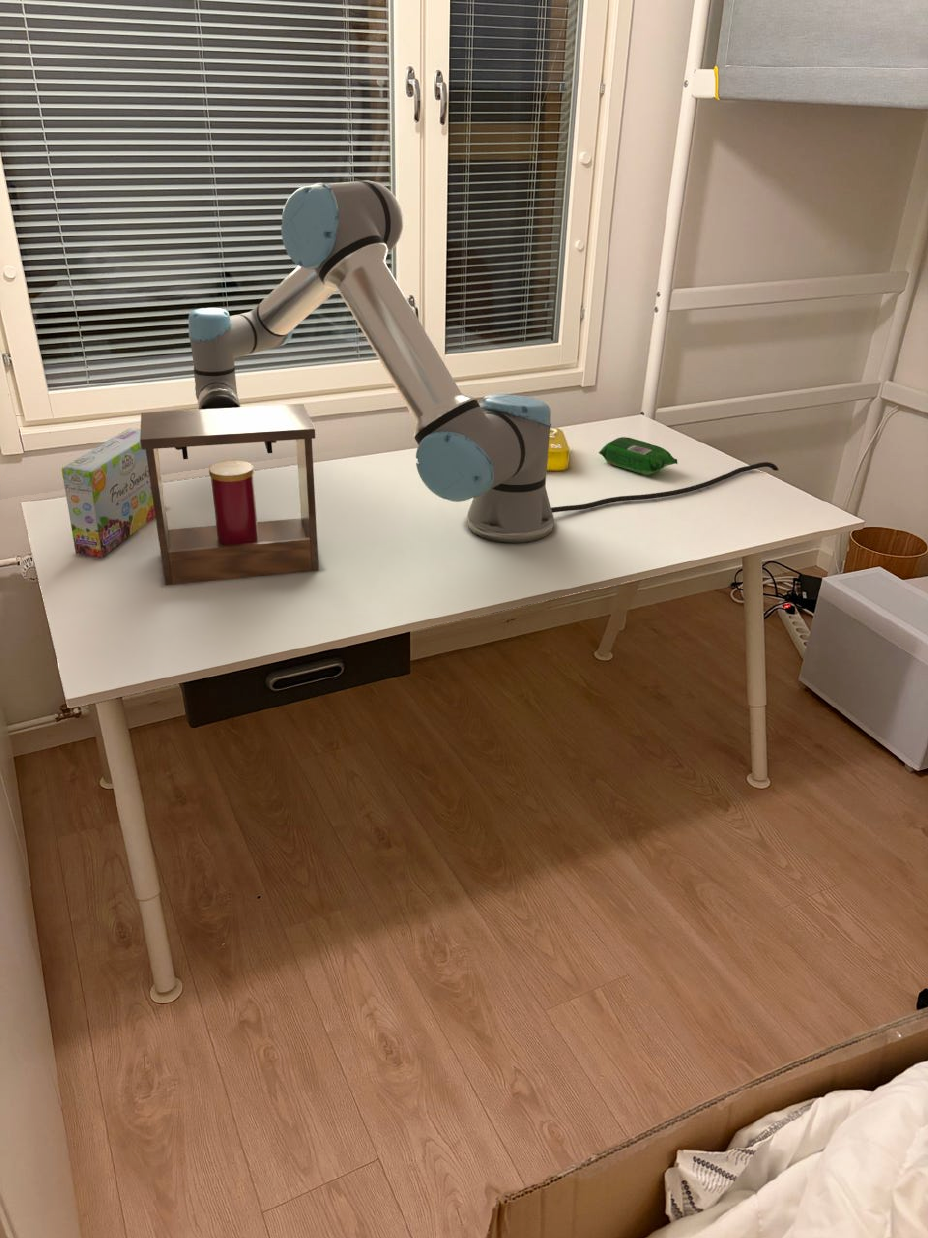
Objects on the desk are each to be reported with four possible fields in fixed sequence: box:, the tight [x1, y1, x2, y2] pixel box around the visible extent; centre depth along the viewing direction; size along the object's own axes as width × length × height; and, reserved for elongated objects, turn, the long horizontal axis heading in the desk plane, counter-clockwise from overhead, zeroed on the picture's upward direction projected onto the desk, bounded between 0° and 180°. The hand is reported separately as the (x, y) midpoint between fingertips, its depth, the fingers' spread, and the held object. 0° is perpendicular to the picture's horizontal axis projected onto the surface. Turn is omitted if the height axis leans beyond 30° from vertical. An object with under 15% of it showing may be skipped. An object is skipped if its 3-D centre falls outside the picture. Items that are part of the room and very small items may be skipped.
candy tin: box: [208, 459, 259, 545], centre depth 147 cm, size 7×7×12 cm
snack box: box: [61, 428, 162, 559], centre depth 157 cm, size 21×6×15 cm, turn 168°
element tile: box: [547, 427, 570, 472], centre depth 197 cm, size 15×15×5 cm
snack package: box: [598, 436, 678, 476], centre depth 193 cm, size 7×16×5 cm, turn 46°
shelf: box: [140, 403, 320, 586], centre depth 147 cm, size 25×13×24 cm, turn 106°
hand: (227, 448), depth 154 cm, fingers open, 13 cm apart
